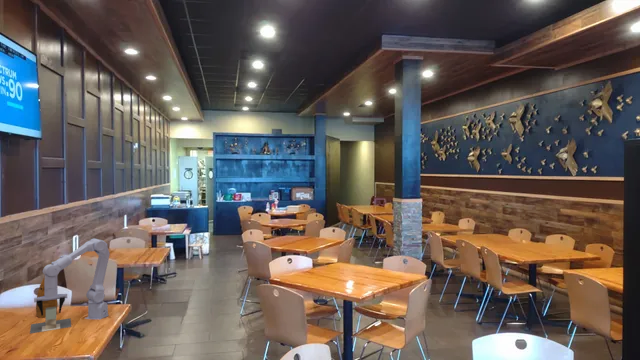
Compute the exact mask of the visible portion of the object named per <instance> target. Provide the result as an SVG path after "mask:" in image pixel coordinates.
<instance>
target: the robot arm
mask: <svg viewBox="0 0 640 360" xmlns="http://www.w3.org/2000/svg"><path fill="white" fill-rule="evenodd" d="M108 245H109V244H108V243H107V242H106V241H105V240H103V239H98V238H96V237H95V238H91V239H89V240H87V241H86V242H84V243H83V244H82V245H81V246H80V247H78V248H76V250H74V251H72V252H71V253H69V254H64V255H60V256H59V258H58V259H56V260H55V261H51V264H49V263H48V264H47V265H45V266H44V268H42V269H43V270H42V274H43V275H44V276H45V280H44V289H45V296H42V297H37V296H36V297H34V298H33V303H36V302H37V305H38V307H39V309H40V311H41V316H43V301H47V300H54V299H57V300H58V305H59V309H58V313H59V314H61V311H62V307H63V306H64V303H65V301H66V299H68V293H58V290H59V289H58V275H59V273H60V272H61V271H62V270H64V269H66V268H67V267H68V266H70V265H71V264H73V260H76V259H77V258H79V257H80V256H82V255H83V254H85V253H88V252H95V253H96V255H97V256H98V257H97V263H96V266H95V267H96V268H95V271H94V276H93V280H92V284H90V285H89V289H88V290H87V292H86V295H85V296H86V298H87V299H88V301H87V303H88V305H87V310H88V311H87V313H88V314H87V316H86V317H84V319H85V320H102V319H105V318H107V317H108V316H109V305H108V303H107V302H105V301H104V299H105V287H104V281H105V276H106V272H107V267H108V265H109V264H108V263H109V258H110V256H111V255H110V250H109V247H108Z"/></svg>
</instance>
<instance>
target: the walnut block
mask: <svg viewBox="0 0 640 360" xmlns="http://www.w3.org/2000/svg"><path fill="white" fill-rule="evenodd" d="M56 320H57V318H56V319H50V320H46V319H45V322H46V330H47V329H53V328H56Z"/></svg>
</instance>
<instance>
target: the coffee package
mask: <svg viewBox="0 0 640 360" xmlns="http://www.w3.org/2000/svg"><path fill="white" fill-rule="evenodd" d="M44 280H45V275H44V276H43V278H42V280H41V283H40V285H39V287H38V291H37V295H36V298H37V297H42V296H45V289H44ZM58 305H59V301H58V299H54V300H47V301H43V316H41V311H40V309H39V307H38V305H37V302H35V314H36V317H38V318H40V319H43V318H46V308H49V307H56V315H57V314H58V312H57V310H58Z"/></svg>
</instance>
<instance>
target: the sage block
mask: <svg viewBox="0 0 640 360" xmlns="http://www.w3.org/2000/svg"><path fill="white" fill-rule="evenodd" d="M50 319H56V320H57V314H56V307H49V308H46V317H45V321H46V320H50Z"/></svg>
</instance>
